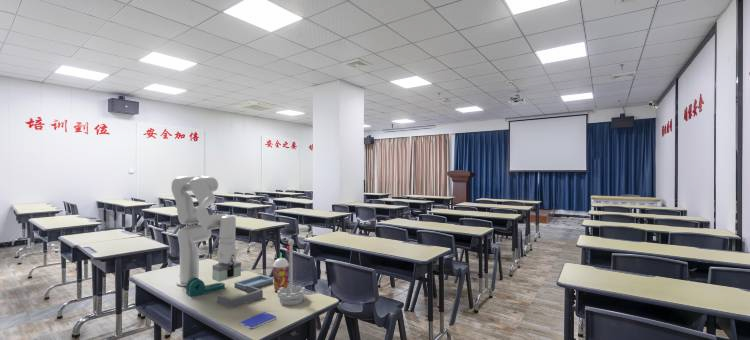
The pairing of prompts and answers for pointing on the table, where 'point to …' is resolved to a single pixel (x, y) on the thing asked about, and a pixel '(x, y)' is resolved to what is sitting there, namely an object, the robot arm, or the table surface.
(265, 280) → the tray
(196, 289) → the bracket
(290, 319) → the table surface
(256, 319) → the hard drive
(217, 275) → the gray rectangular block
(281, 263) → the smoothie
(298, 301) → the flag stand
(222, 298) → the bay
